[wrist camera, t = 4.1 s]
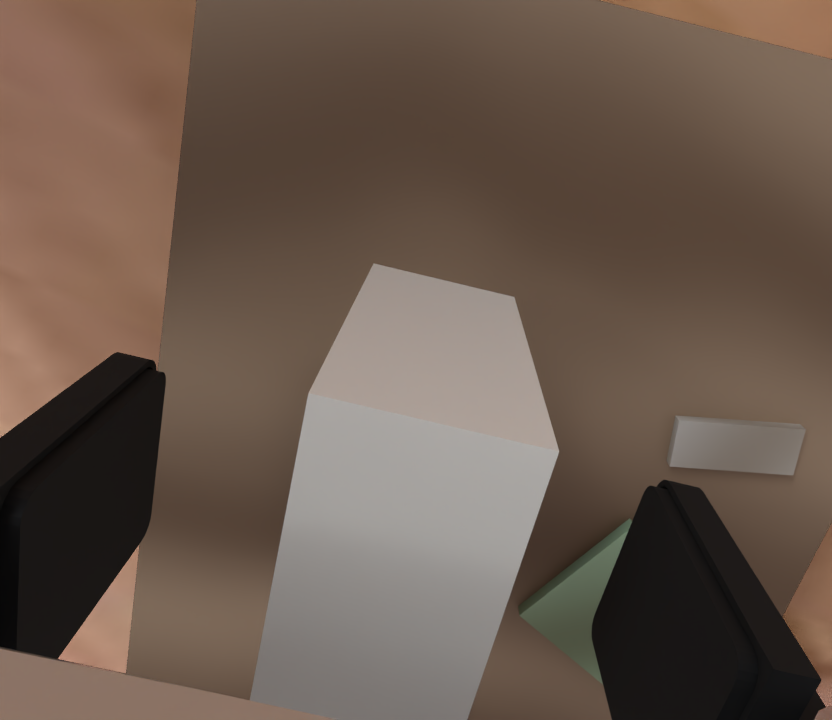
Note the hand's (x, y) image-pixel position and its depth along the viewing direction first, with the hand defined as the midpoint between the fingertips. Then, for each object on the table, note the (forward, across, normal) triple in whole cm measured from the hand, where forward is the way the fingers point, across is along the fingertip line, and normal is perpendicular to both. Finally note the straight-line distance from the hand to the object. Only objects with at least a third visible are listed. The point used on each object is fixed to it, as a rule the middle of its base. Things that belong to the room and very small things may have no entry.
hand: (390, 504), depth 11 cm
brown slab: (+8, -2, +2) cm, 9 cm away
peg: (+3, 0, +2) cm, 3 cm away
